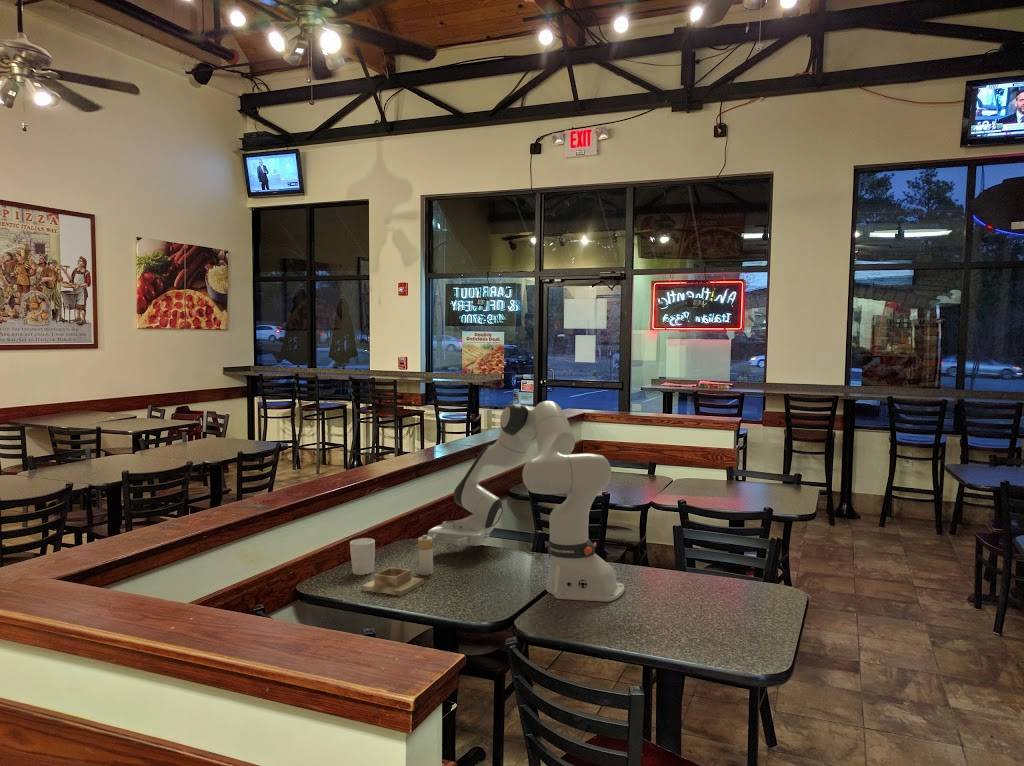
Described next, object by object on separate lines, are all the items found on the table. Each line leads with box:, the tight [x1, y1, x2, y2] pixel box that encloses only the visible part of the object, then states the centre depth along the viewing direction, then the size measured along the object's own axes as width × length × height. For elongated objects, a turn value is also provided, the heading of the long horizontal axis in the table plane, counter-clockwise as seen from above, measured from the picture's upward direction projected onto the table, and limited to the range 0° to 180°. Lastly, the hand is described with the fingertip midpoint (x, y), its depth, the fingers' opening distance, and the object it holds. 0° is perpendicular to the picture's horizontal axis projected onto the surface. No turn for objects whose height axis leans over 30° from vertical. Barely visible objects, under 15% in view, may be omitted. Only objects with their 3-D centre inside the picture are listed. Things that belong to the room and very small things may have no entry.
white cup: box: [349, 537, 376, 576], centre depth 228 cm, size 8×8×10 cm
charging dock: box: [361, 567, 425, 597], centre depth 212 cm, size 14×12×4 cm
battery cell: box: [417, 534, 434, 576], centre depth 225 cm, size 4×4×12 cm
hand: (444, 542), depth 235 cm, fingers open, 8 cm apart
